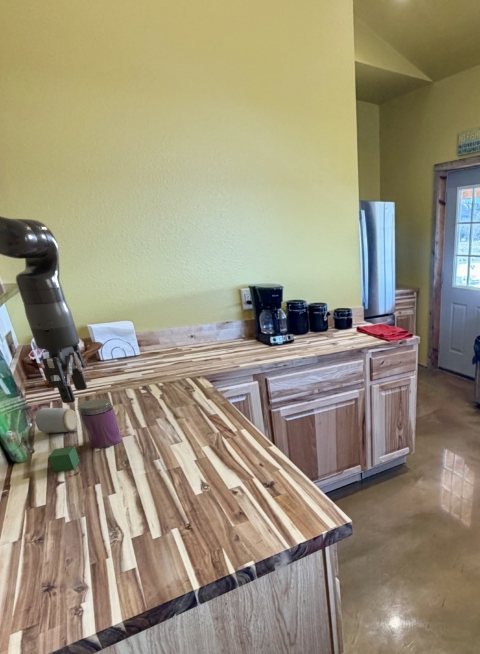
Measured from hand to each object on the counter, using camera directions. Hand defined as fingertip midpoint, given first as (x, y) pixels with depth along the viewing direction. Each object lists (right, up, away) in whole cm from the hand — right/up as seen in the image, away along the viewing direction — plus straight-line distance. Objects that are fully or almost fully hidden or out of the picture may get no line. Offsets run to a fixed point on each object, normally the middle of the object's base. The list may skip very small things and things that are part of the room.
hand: (75, 395), depth 94 cm
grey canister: (-31, -9, +36) cm, 48 cm away
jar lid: (-12, -1, +23) cm, 26 cm away
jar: (-12, -12, +28) cm, 32 cm away
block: (-13, -18, +15) cm, 27 cm away
